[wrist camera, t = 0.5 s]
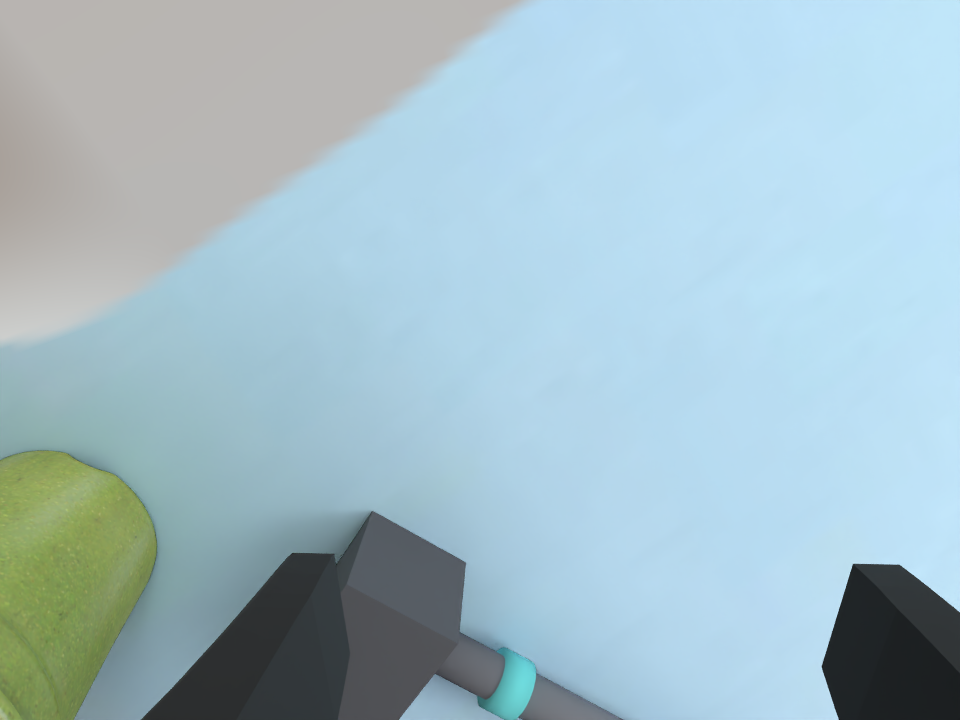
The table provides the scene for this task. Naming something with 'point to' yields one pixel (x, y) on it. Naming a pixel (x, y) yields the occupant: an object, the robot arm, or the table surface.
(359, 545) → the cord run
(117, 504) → the plant pot
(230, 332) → the table surface
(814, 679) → the table surface
